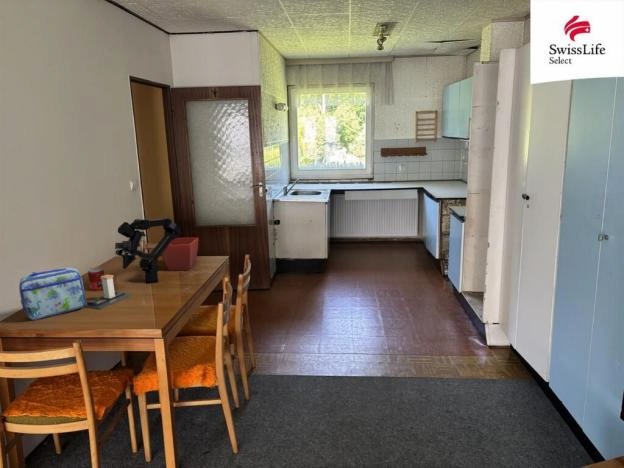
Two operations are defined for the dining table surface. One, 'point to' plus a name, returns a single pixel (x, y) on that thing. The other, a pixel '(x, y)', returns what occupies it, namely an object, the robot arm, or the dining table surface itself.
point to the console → (106, 300)
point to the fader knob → (108, 286)
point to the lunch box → (51, 292)
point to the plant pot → (181, 254)
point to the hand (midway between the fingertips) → (123, 268)
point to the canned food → (95, 278)
